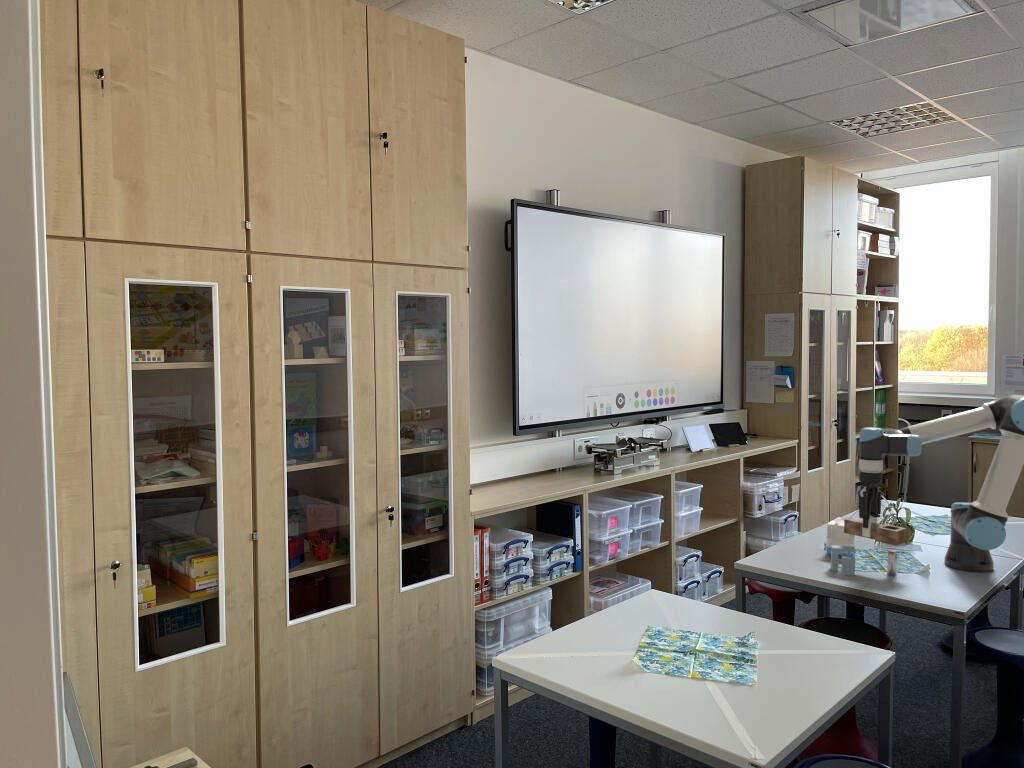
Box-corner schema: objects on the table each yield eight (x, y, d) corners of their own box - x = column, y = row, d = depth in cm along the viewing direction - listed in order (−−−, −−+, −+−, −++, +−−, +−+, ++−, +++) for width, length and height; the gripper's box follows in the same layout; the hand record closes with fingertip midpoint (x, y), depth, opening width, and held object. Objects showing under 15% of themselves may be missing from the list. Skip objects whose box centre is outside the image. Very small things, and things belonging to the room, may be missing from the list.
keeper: (853, 569, 265) (854, 546, 265) (856, 575, 258) (856, 552, 257) (831, 567, 267) (831, 545, 267) (832, 573, 260) (833, 550, 260)
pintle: (896, 573, 260) (897, 551, 259) (895, 575, 257) (896, 553, 257) (888, 572, 261) (888, 549, 261) (886, 574, 259) (887, 551, 258)
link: (905, 542, 259) (906, 528, 258) (896, 545, 254) (896, 531, 254) (851, 530, 274) (851, 517, 274) (841, 533, 270) (842, 520, 269)
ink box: (849, 557, 280) (850, 522, 279) (826, 553, 285) (826, 519, 285) (854, 552, 287) (855, 518, 286) (832, 548, 292) (832, 515, 291)
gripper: (871, 467, 272) (870, 530, 273) (848, 472, 262) (847, 537, 263) (892, 469, 266) (891, 534, 267) (869, 475, 256) (868, 541, 257)
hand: (869, 535), depth 265 cm, fingers closed on link, 4 cm apart
